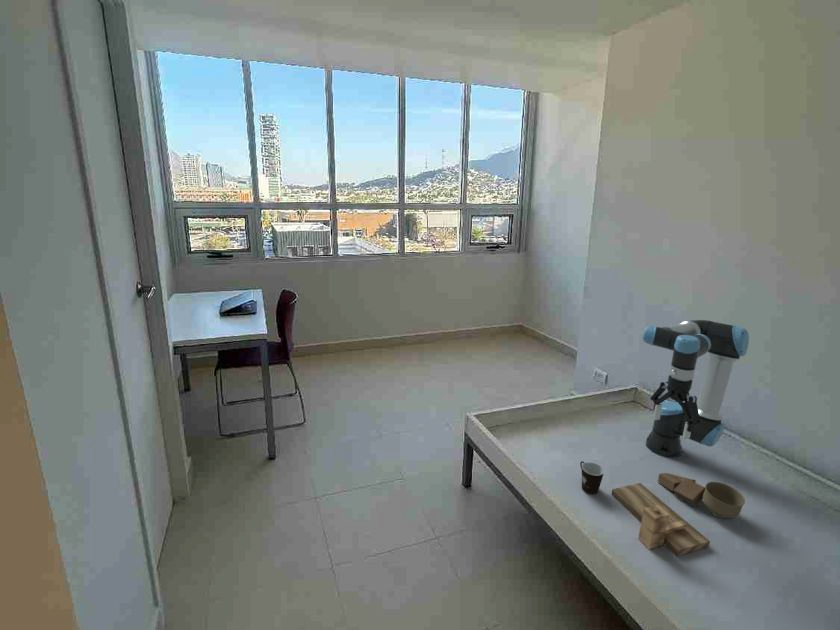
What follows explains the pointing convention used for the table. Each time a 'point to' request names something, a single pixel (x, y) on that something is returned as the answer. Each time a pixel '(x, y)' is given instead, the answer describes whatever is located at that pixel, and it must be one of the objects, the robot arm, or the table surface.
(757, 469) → the table surface
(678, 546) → the board
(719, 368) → the robot arm
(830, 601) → the table surface
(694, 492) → the brown wooden blocks
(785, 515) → the table surface
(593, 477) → the coffee mug
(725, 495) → the bowl
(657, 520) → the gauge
